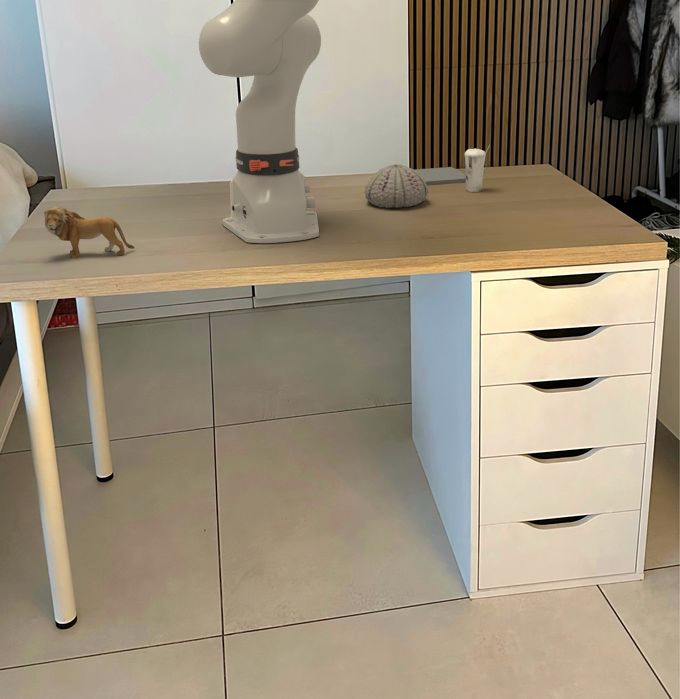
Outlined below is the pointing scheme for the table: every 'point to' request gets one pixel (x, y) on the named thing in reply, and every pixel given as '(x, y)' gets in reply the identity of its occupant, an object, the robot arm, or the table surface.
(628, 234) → the table surface
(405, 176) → the sea urchin shell
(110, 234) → the lion figurine
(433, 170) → the pad
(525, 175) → the table surface
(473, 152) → the milkshake
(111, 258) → the table surface
